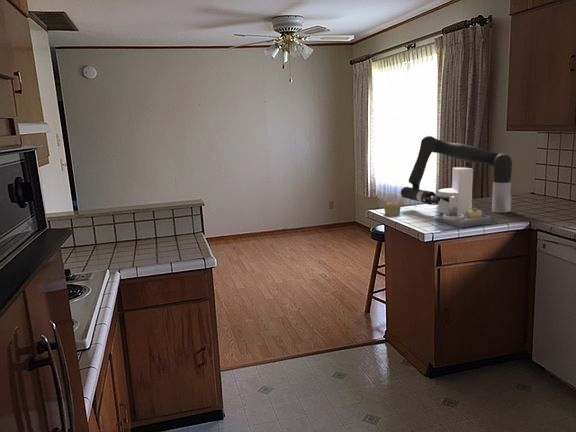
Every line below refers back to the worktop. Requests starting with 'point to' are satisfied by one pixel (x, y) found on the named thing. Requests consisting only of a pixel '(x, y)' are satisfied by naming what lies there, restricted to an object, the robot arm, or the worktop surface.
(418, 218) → the worktop surface
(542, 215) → the worktop surface
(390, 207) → the decorative item
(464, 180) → the white stepped tower
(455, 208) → the grey block on base
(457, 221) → the carrier
